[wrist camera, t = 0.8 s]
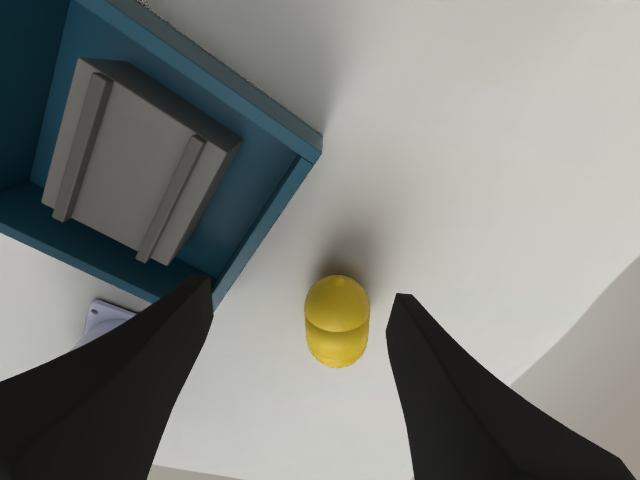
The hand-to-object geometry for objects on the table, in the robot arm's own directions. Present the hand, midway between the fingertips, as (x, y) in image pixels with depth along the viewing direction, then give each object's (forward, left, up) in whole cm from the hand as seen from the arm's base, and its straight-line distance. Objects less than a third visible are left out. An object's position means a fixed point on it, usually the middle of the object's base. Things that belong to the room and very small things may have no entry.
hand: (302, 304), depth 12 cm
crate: (-1, +9, -10) cm, 14 cm away
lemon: (-6, -5, -10) cm, 12 cm away
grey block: (-1, +9, -9) cm, 13 cm away
